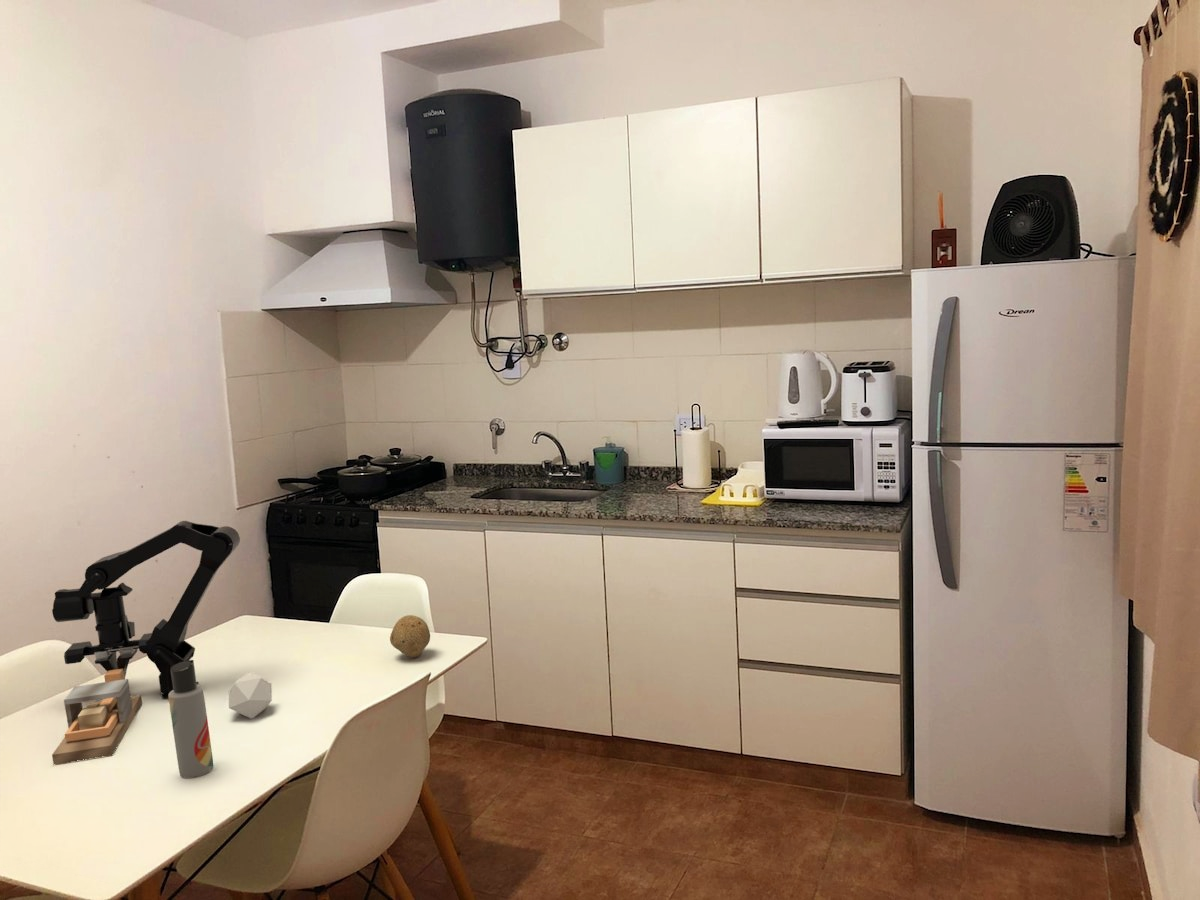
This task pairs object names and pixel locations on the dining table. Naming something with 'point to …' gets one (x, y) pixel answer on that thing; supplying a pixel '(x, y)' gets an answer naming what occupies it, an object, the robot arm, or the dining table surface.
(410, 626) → the brown round lump
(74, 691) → the tunnel
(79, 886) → the dining table surface
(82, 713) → the birch block
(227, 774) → the dining table surface
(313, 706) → the dining table surface
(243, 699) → the die
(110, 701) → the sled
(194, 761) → the lotion bottle
